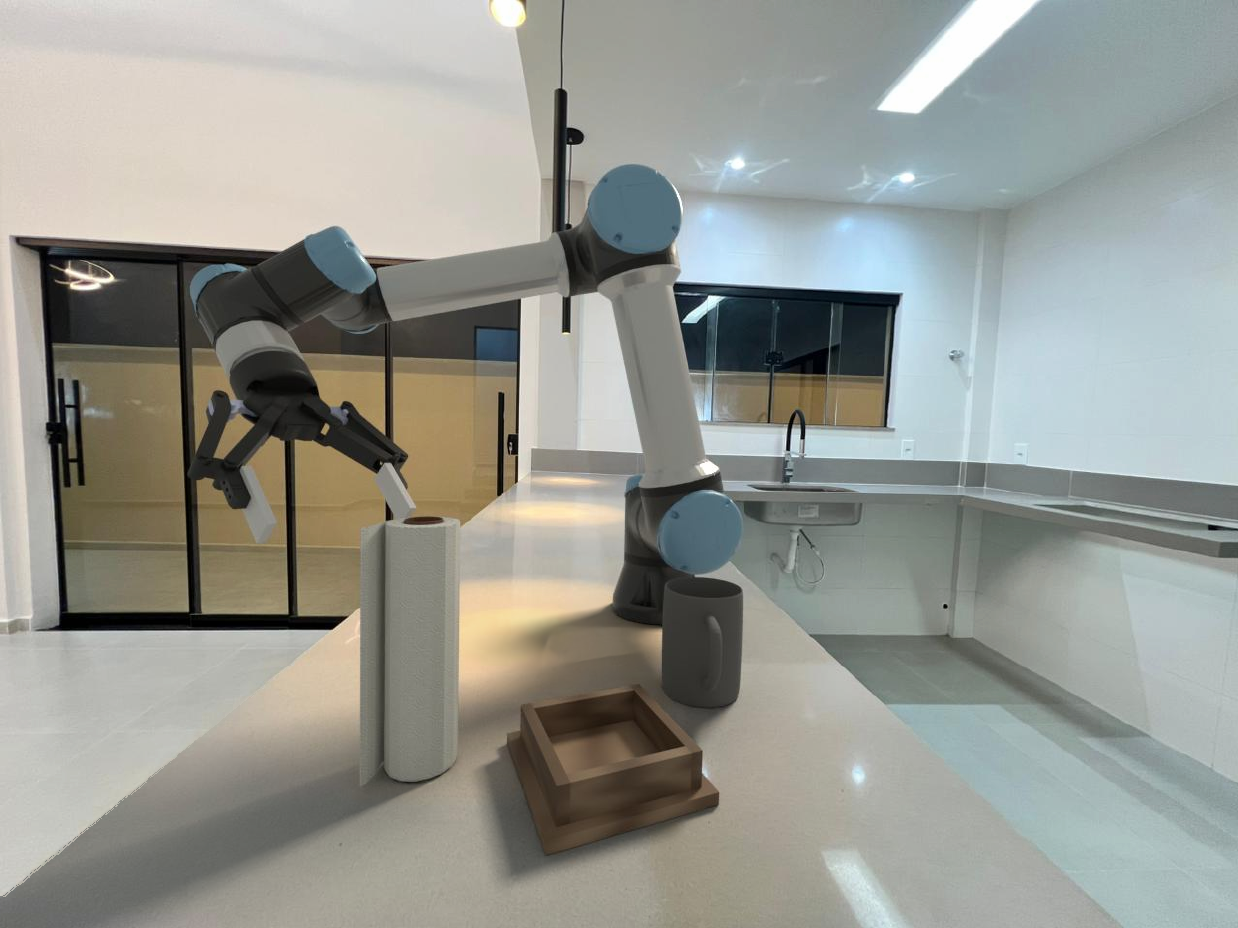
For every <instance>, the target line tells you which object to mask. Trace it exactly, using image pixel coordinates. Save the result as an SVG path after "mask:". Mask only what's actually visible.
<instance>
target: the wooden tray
mask: <svg viewBox="0 0 1238 928" xmlns="http://www.w3.org/2000/svg"><path fill="white" fill-rule="evenodd" d="M519 720H520V725H519V726H520V727H519V728H520V729H519V730H517V731H511V732H507V733H506V745H507V747H508V751H509V753H510V756H511V759H512V760H511V761H512V763H513V764H514V767H515V771H516V774H517V776H518V779H519V783H520V784H521V788H522V791H523V794H524V796H525V799H526V803H527V805H528V808H529V811H530V814H531V816H532V817H531V818H532V820H533V823H534V826H535V828H536V829H535V830H537V835H538V837H539V840H540V842H541V846H542V849H543V851H544V852H543V853H544V855H545V856H549V855H553V854H555V853H558V852H562V851H563V852H564V851H566V850H570V849H572V848H575V847H580V846H582V845H583V846H584V845H586V844H589V843H593V842H597V841H599V840H603V839H606V838H609V837H614V836H617V835H620V834H623V833H626V832H630V831H633V830H637V829H640V828H643V827H647V826H649V825H654V824H657V823H661V822H663V821H667V820H671V819H674V818H677V817H680V816H684V815H687V814H691V813H695V812H697V811H701V810H704V809H708V808H710V807H711V808H712V807H714V806H718V805H720V791H719V790H718V789H717V788H716V787H715V785H714V784H713V783H712V782H711V781H710V780H709V778H708V777H706V775H705V774H704V773H703V758H704V757H703V754H704V753H703V751H704V750H703V749H702V748H701V747H700V746H699V745H698V744H697V743H696V742H695V741H694V740H693V739H692V738H691V737H690V736H689V734H688V733H687V732H686V731H684V729H683V728H682V727H681V726H680V725H679V724H678V723H677V722H676V721H675V720H674V719H673V718H672V716H670V714H669V713H667V712H666V710H664V708H663V707H661V706H660V705H659V703H658V702H657V701H656V700H655V699H654V697H652V696H651V695H650V694H649V693H648V692H647V691H646V690H645V689H644V688H643V687H642V685H640V684H639V683H638V684H631V685H627V686H620V687H614V688H608V689H603V690H599V691H598V690H597V691H593V692H586V693H579V694H575V695H574V694H573V695H570V696H565V697H564V696H563V697H558V698H551V699H546V700H541V701H535V702H528V703H524V704H520V719H519Z"/></svg>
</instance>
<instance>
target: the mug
mask: <svg viewBox="0 0 1238 928" xmlns="http://www.w3.org/2000/svg"><path fill="white" fill-rule="evenodd" d="M661 625H662V631H661V667H660V668H661V670H660V671H661V686H662V689H663V692H664V693H665V694H666V695H667V696H668V697H669V698H671V699H673V700H674V701H676V702H678V703H681V704H683V705H687V706H691V707H697V708H707V709H708V708H709V709H711V708H718V707H719V708H721V707H725V706H727V705H730V704H732V703H733V702H735V701H736V700H737V698H738V697H739V695H740V691H741V690H740V689H741V677H742V660H743V658H742V657H743V636H744V635H743V633H744V632H743V630H744V627H743V626H744V591H743V588H742V587H741V586H740V585H738V584H736V583H734V582H731V581H728V580H724V579H720V578H713V577H704V576H695V577H684V578H677V579H673V580H670V581H668V582H667V583H666V584H665V588H664V600H663V623H662V624H661Z"/></svg>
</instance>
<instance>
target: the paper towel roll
mask: <svg viewBox="0 0 1238 928" xmlns="http://www.w3.org/2000/svg"><path fill="white" fill-rule="evenodd" d="M359 554H360V555H359V557H360V561H359V562H360V565H359V567H360V569H359V570H360V574H359V577H360V578H359V579H360V581H359V586H360V589H359V590H360V591H359V592H360V593H359V594H360V595H359V597H360V599H359V600H360V601H359V604H360V605H359V607H360V608H359V614H360V617H359V618H360V619H359V623H360V624H359V626H360V627H359V630H360V631H359V632H360V633H359V644H360V645H359V652H360V653H359V788H361V787H362V786H364V785H365V784H367V783H368V782H369V781H370V780H371V779H372V778H373V777H374V776H375V775H376V773H377V772H378V771H379V769H380V767H381V765H382V764H383V767H384V768H383V769H384V771H385V773H386V774H387V775H388V777H390V778H391V779H394V780H396V781H399V782H409V783H410V782H411V783H412V782H419V781H420V782H421V781H426V780H430V779H432V778H435V777H436V776H439V775H441V774H443V773H444V772H446V771H447V770H448V769H450V768H451V767H452V766H453V765H454V763H455V761H456V759H457V757H458V755H459V687H460V686H459V683H460V682H459V680H460V677H459V676H460V674H459V673H460V603H461V602H460V598H461V597H460V596H461V593H460V591H461V589H460V587H461V521H460V519H458V518H454V517H447V516H410V518H401V519H396V518H395V519H391V520H385V521H381V522H379V523H376V524H373V525H369V526H364V527H360V552H359Z"/></svg>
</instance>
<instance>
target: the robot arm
mask: <svg viewBox="0 0 1238 928" xmlns="http://www.w3.org/2000/svg"><path fill="white" fill-rule="evenodd" d="M683 211H684V210H683V204H682V200H681V196H680V195H679V192H678V190H677V189H676V188H675V186H674V184H673V183H672V182H671V181H670V180H669V179H668V178H667V177H666V176H665V175H662V174H661V173H660V172H658V171H657V170H656V169H655V168H653V167H650V166H647V165H644V164H638V163H637V164H636V163H628V164H623V165H619V166H616V167H614V168H612V169H610V170H609V171H607V172H606V173H605V174H604V175H603V176H602V177H601V178H600V179H599V180H598V182H597V183H596V185H595V186H594V187H593V189H592V191H591V192H590V195H589V197H588V199H587V207H586V210H585V212H584V215H583V217H582V219H581V222H580V223H579V224H577V225H576V226H574V227H571V228H570V229H565V230H563V231H562V230H560V231H555V232H552V233H551V234H550V236H549V238H548V239H547V240H545V241H540V242H531V243H527V244H521V245H520V244H519V245H514V246H508V247H502V248H495V249H488V250H484V251H478V252H477V251H475V252H469V253H464V254H457V255H452V256H451V255H450V256H445V257H440V258H433V259H426V260H420V261H415V262H408V263H402V264H395V265H389V266H383V267H377V268H373V267H372V266H371V265H370V263H369V262H368V260H367V259H366V258H365V256H364V255H363V253H362V252H361V250H360V249H359V247H358V246H357V245H356V243H355V242H354V240H353V239H352V238H351V236H350V235H349V234H348V232H347V231H346V230H345V228H343V227H341V226H338V225H331V226H328V227H327V228H324V229H322V230H320V231H318V232H315V233H311V234H308V235H307V236H306V237H305V238H304V239H302V240H300V241H298V242H296V243H295V244H293V245H291V246H289V247H287V248H285V249H284V250H282V251H280V252H278V253H276V254H275V255H273V256H271V257H270V258H269V257H268V259H266V260H264V261H262V262H261V263H259V264H257V265H255V266H251V267H249V268H246V267H244V266H242V265H238V264H235V263H225V264H211V265H208V266H206V267H204V268H202V269H200V270H198V272H197V273H196V274H195V275H194V276H193V278H192V280H191V282H190V286H189V295H190V298H191V301H192V304H193V306H194V307H193V308H194V312H195V317H196V318H197V319H198V321H199V324H200V325H201V326H202V328H203V331H204V332H205V334H206V336H207V338H208V340H209V341H210V343H211V345H212V347H213V349H214V352H215V355H216V357H217V359H218V361H219V363H220V365H221V368H222V370H223V371H224V373H225V375H226V378H227V380H228V382H229V385H230V388H231V389H232V392H233V394H234V397H235V398H230V395H229V394H228V393H227V392H226V391H224V390H221V389H217V390H214V391H213V392H212V394H211V397H210V400H209V402H208V404H207V406H206V410H205V413H206V417H207V421H208V425H207V427H206V429H205V430H204V433H203V436H202V438H201V440H200V443H199V444H198V448H197V450H196V452H195V455H194V457H193V459H192V461H191V465H190V467H189V469H188V472H187V477H188V478H189V479H190V480H194V481H202V480H204V479H211V480H213V482H212V484H211V485H212V487H213V489H215V490H217V491H222V493H223V495H224V496H225V500H226V503H227V505H228V506H229V507H230V508H231V509H232V510H242V513H243V515H244V518H245V519H246V522H247V525H248V527H249V529H250V532H251V534H252V537H253V538H254V541H255V543H256V544H257V545H258V544H266V543H268V540H269V539H270V537H271V535H272V533H273V531H274V530H275V528H276V527H277V524H278V522H277V520H276V517H275V514H274V512H273V510H272V508H271V505H270V504H269V501H268V499H267V497H266V495H265V493H264V491H263V489H262V486H261V484H260V481H259V479H258V476H257V475H256V473H255V471H254V468H253V466H252V465H247V464H248V463H249V461H251V459H252V458H253V457H254V455H256V454H257V452H258V451H259V450H260V448H261V447H263V446H264V445H265V444H266V443H267V441H268V440H269V439H270V438H271V437H273V438H277V439H278V440H280V441H281V442H286V441H287V442H291V441H295V440H297V441H302V442H312V441H313V442H315V443H317V444H318V445H320V446H322V447H325V448H326V447H331V448H332V449H334V450H336V451H337V452H339V453H341V454H343V456H345V457H348V458H349V459H351V460H352V461H354V462H356V463H357V464H359V465H361V466H362V467H364V468H366V469H368V470H370V471H371V472H373V473H374V474H376V475H375V477H374V482H375V484H376V485H377V487H378V489H379V491H380V492H381V495H382V496H383V498H384V500H385V501H386V503H387V505H388V507H389V509H390V511H391V512H392V514H393V516H394V518H395V519H401V518H411V517H412V515H413V513H414V512H415V511H416V510H417V506H416V503H414V501H413V498H412V497H411V495H410V494H409V492H408V488H409V486H408V483H407V482H408V481H406V479H405V477H404V475H403V474H402V472H401V471H400V470H401V469H402V468H403V467H404V465H405V463H406V462H407V461H408V458H409V455H408V453H407V452H405V450H403V449H402V448H401V447H400V446H398V445H397V444H396V443H395V442H394V441H392V439H390V438H389V437H388V436H387V435H385V434H384V433H383V432H381V431H380V430H379V429H378V428H377V427H375V426H374V424H372V423H371V422H370V421H369V420H367V419H366V418H365V417H364V416H362V414H360V413H359V411H358V410H357V408H356V407H355V405H354V404H353V403H352V402H350V401H348V400H343V401H342V403H341V405H340V406H329V405H328V403H326V402H325V401H324V400H323V399H322V398H321V396H320V391H319V386H318V383H317V381H316V379H315V378H314V376H313V374H312V372H311V370H310V369H309V367H308V365H307V363H306V362H305V359H304V357H303V354H301V352H300V350H299V349H298V346H297V345H296V343H295V341H294V340H293V338H292V336H291V334H290V333H289V332H291V331H292V330H294V329H296V328H298V327H299V326H300V327H301V326H302V325H303V324H306V323H307V322H310V321H311V320H313V319H314V318H316V317H318V316H320V315H321V316H322V317H324V318H325V319H326V320H327V321H328V322H329V323H330V324H332V325H333V326H334V327H336V328H338V329H340V330H342V331H344V332H347V333H351V334H355V335H356V334H357V335H363V334H366V333H367V334H368V333H369V332H372V331H373V330H376V328H377V327H378V326H379V325H383V324H388V323H391V322H397V321H402V320H408V319H409V320H410V319H413V318H419V317H426V316H430V315H437V314H442V313H443V314H444V313H448V312H453V311H458V310H459V311H460V310H463V309H465V310H466V309H470V308H474V307H475V308H476V307H482V306H486V305H493V304H497V303H502V302H508V301H509V302H510V301H515V300H521V299H525V298H532V297H537V296H542V295H549V294H552V293H553V294H554V293H558V295H561V296H562V297H564V298H570V297H575V296H581V295H587V294H588V295H589V294H595V293H599V294H600V295H601V296H603V297H605V298H606V299H608V300H609V301H610V302H611V307H612V312H613V317H614V321H615V326H616V331H617V336H618V341H619V345H620V350H621V355H622V360H623V364H624V369H625V374H626V380H627V383H628V388H629V393H630V397H631V398H630V399H631V403H632V408H633V413H634V417H635V421H636V422H635V423H636V426H637V427H636V428H637V430H638V436H639V441H640V445H641V450H642V451H641V452H642V455H643V460H644V464H645V465H644V466H645V469H646V470H645V473H641V474H640V473H639V474H633V475H630V476H629V477H628V478H627V480H626V485H625V486H626V487H625V491H624V494H623V495H624V502H625V503H624V539H623V541H624V542H623V543H624V544H623V551H624V552H623V553H624V554H623V564H622V565H623V566H622V568H621V571H620V574H619V577H618V580H617V582H616V585H615V588H614V591H613V594H612V611H613V612H614V614H616V615H617V616H619V617H621V618H622V619H625V620H629V621H632V622H637V623H643V624H649V625H662V623H663V600H664V588H665V584H666V583H667V582H668V581H670V580H673V579H677V578H684V577H696V576H698V575H706V574H711V573H714V572H716V571H718V570H720V569H722V568H723V567H724V566H726V565H727V564H728V563H729V562H730V561H731V560H732V559H733V556H735V554H736V552H737V551H738V550H739V548H740V546H741V543H742V540H743V535H744V522H743V516H742V514H741V511H740V510H739V509H740V508H739V507H738V506H737V505H736V503H734V501H733V500H732V499H731V498H730V497H729V496H727V495H726V494H725V490H724V484H723V480H722V476H721V475H722V474H721V469H720V467H719V466H718V465H716V464H714V463H713V462H712V461H710V460H709V459H708V458H707V456H706V450H705V445H704V440H703V437H702V430H701V426H700V420H699V416H698V410H697V406H696V405H697V404H696V400H695V395H694V390H693V384H692V380H691V374H690V369H689V365H688V359H687V354H686V349H685V343H684V338H683V334H682V328H681V324H680V319H679V314H678V309H677V308H678V307H677V304H676V303H677V302H676V297H675V293H674V288H673V287H674V285H675V283H676V282H677V280H678V278H679V277H680V275H681V272H682V270H681V269H682V268H681V264H680V258H679V254H678V249H677V243H676V238H677V237H678V236H679V234H680V231H681V228H682V222H683V215H684V213H683ZM237 415H240V416H242V418H244V419H245V420H247V421H248V422H249V423H251V424H252V425H253V426H252V427H251V428H250V429H249V430H248V431H247V433H245V435H244V436H243V437H242V438H241V439H240V440H239V441H238V442H237V443H236V445H235V446H233V448H232V449H230V451H229V452H228V454H226V456H224V458H219V457H214V456H215V454H216V451H217V449H218V446H219V443H220V441H221V439H222V436H223V434H224V432H225V428H226V426H227V423H229V422H230V421H231V420H235V418H236V416H237ZM325 425H328V427H329V428H328V430H327V431H326V433H325V434H324V433H322V431H323V429H324V428H325Z"/></svg>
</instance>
